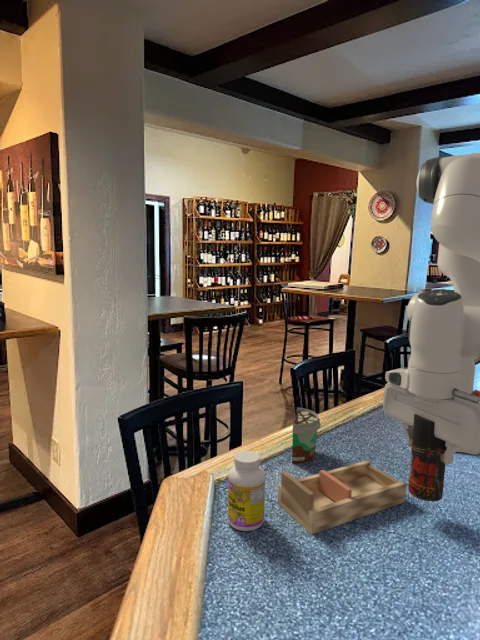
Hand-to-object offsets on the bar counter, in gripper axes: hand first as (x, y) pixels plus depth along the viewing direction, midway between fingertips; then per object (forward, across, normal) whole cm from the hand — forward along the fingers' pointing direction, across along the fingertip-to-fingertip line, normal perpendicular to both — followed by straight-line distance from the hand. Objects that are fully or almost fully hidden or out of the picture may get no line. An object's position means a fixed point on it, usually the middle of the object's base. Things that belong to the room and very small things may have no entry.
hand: (428, 454), depth 85 cm
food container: (+13, +31, +5) cm, 34 cm away
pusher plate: (+11, +11, +13) cm, 20 cm away
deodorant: (+8, 0, 0) cm, 8 cm away
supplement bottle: (+12, +14, +31) cm, 36 cm away
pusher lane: (+12, +11, +11) cm, 20 cm away
